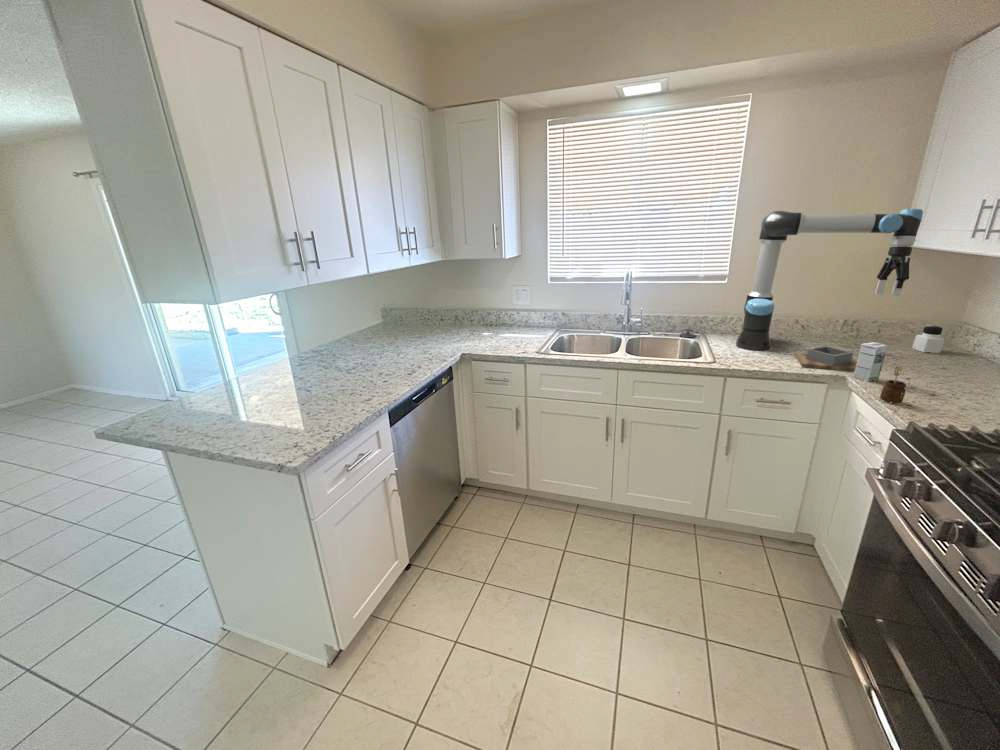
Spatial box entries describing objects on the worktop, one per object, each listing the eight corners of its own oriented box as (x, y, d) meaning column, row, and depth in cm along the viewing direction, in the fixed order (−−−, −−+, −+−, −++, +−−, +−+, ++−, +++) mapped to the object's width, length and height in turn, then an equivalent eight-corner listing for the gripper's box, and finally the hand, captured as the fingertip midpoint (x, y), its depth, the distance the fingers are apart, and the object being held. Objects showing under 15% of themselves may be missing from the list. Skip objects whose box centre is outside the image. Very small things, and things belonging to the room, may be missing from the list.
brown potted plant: (880, 402, 146) (890, 370, 142) (878, 396, 151) (887, 365, 147) (903, 405, 143) (914, 373, 139) (899, 399, 148) (910, 367, 144)
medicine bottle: (940, 353, 194) (949, 328, 190) (923, 353, 195) (931, 328, 191) (928, 349, 200) (936, 324, 196) (911, 348, 201) (919, 324, 197)
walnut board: (801, 366, 182) (802, 363, 182) (793, 355, 197) (794, 352, 196) (864, 372, 174) (865, 369, 173) (851, 360, 188) (852, 357, 188)
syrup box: (867, 382, 164) (878, 346, 159) (852, 377, 169) (861, 342, 164) (878, 380, 165) (889, 345, 160) (862, 375, 171) (872, 341, 166)
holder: (805, 358, 188) (807, 349, 186) (823, 355, 192) (825, 345, 190) (832, 366, 178) (835, 356, 176) (850, 362, 181) (853, 352, 180)
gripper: (930, 245, 172) (913, 297, 177) (895, 248, 195) (881, 294, 200) (907, 244, 174) (892, 296, 180) (876, 247, 197) (863, 292, 203)
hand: (886, 295), depth 190 cm, fingers open, 13 cm apart
